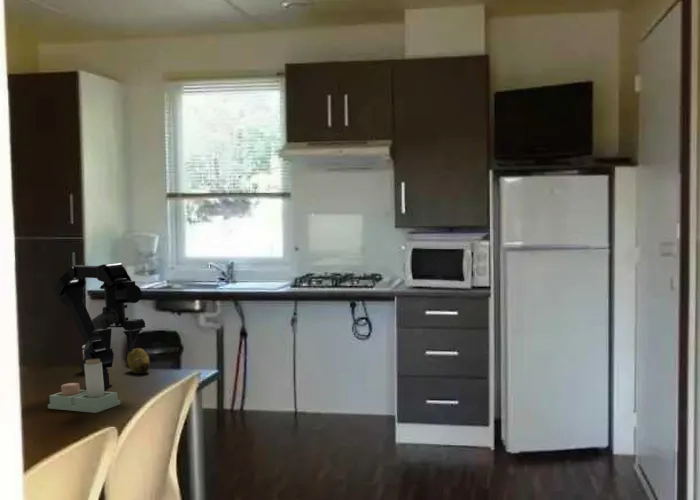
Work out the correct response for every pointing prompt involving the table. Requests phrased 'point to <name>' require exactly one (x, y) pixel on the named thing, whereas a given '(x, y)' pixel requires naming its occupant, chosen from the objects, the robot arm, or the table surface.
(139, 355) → the potato
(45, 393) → the table surface
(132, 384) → the table surface
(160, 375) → the table surface
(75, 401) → the spice stand
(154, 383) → the table surface
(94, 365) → the spice jar
